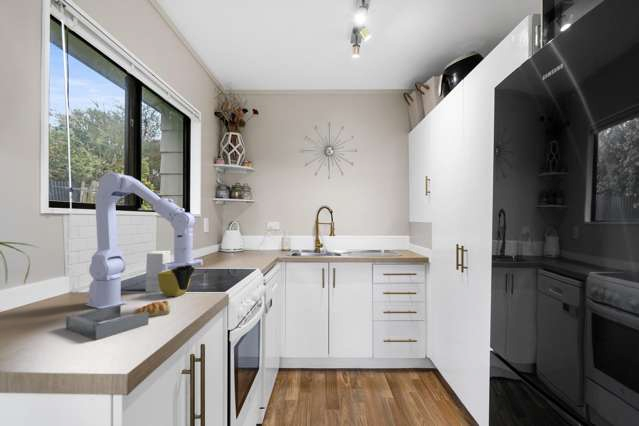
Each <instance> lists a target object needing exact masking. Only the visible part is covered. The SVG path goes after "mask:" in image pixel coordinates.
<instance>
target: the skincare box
mask: <svg viewBox="0 0 639 426" xmlns="http://www.w3.org/2000/svg"><path fill="white" fill-rule="evenodd" d="M170 262H171V250H154V251H150V252H147V253H146V270H145V272H146V273H145V274H146V275H145V276H146V277H145V293H163V292H162V291H161V289H160V286H159V280H158V273H160V272H164V270H161V264H166V263H170ZM167 271H168V270H167Z"/></svg>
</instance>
